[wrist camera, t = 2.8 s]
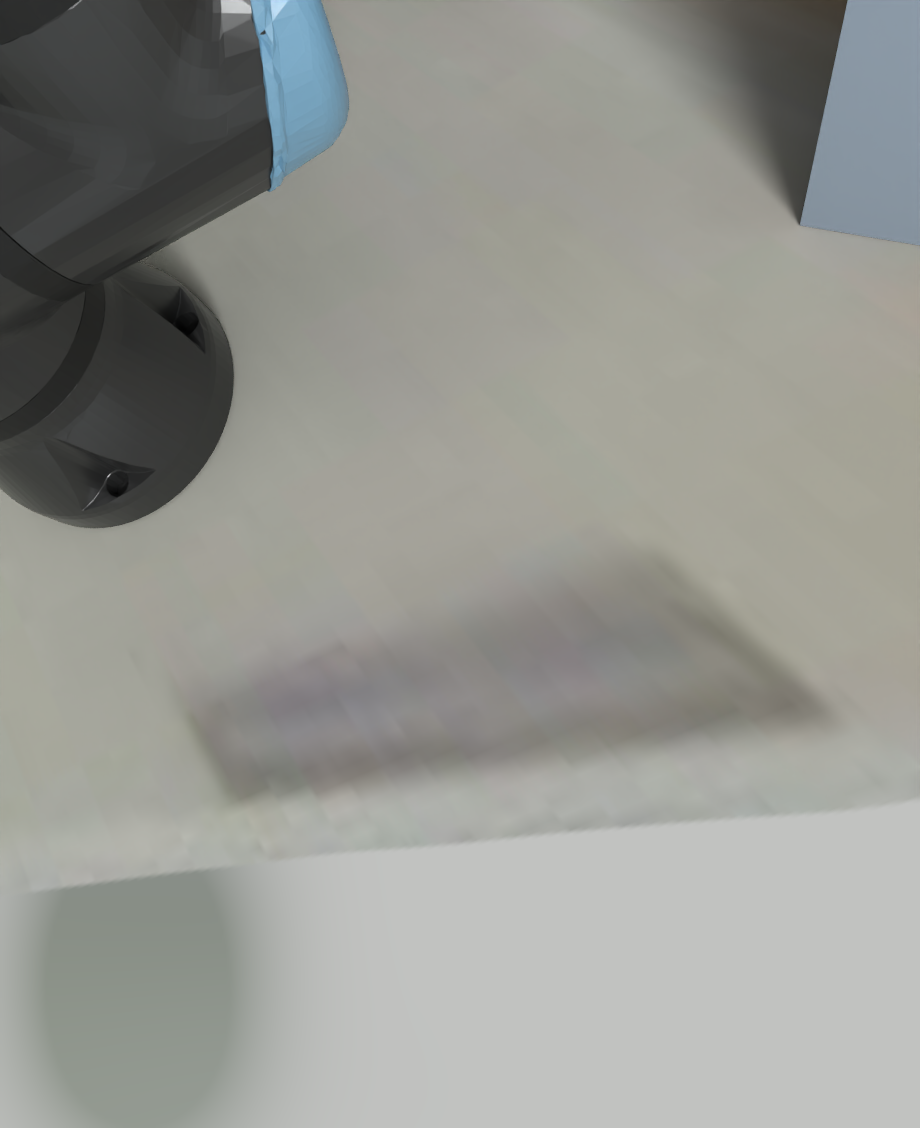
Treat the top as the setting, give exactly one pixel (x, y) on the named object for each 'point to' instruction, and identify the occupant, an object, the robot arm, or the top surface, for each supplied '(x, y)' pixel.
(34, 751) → the top surface
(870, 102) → the post
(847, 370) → the top surface
